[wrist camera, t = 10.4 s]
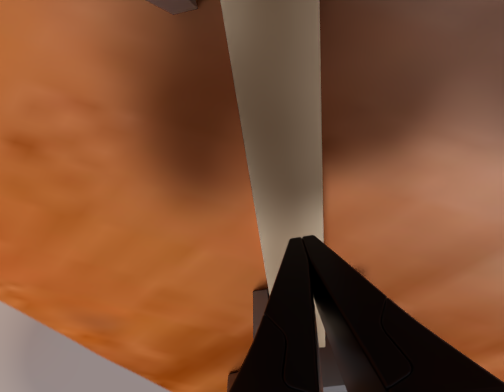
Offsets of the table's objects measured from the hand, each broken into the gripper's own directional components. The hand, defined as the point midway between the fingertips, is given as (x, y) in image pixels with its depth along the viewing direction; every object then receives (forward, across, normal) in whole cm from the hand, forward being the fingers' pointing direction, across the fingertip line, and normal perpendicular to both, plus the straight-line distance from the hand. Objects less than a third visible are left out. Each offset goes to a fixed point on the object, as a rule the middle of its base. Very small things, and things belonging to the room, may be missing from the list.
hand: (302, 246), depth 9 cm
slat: (+6, 0, 0) cm, 6 cm away
